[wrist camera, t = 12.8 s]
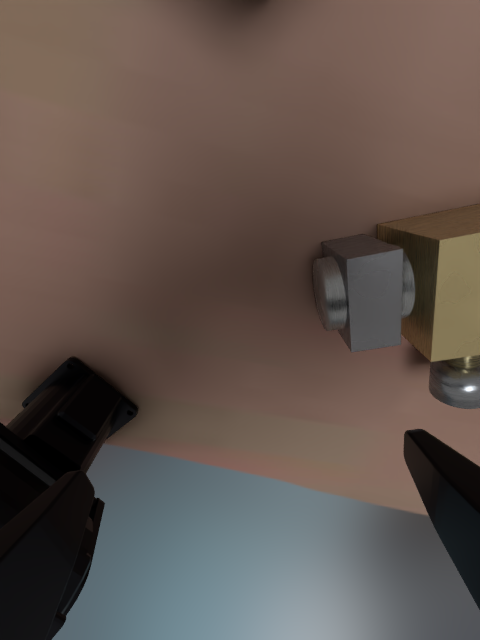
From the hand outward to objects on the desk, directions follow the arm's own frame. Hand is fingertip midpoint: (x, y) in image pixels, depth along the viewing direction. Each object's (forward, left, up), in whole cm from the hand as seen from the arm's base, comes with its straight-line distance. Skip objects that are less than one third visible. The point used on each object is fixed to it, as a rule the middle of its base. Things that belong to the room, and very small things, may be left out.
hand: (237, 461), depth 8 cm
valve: (+10, -6, -12) cm, 17 cm away
